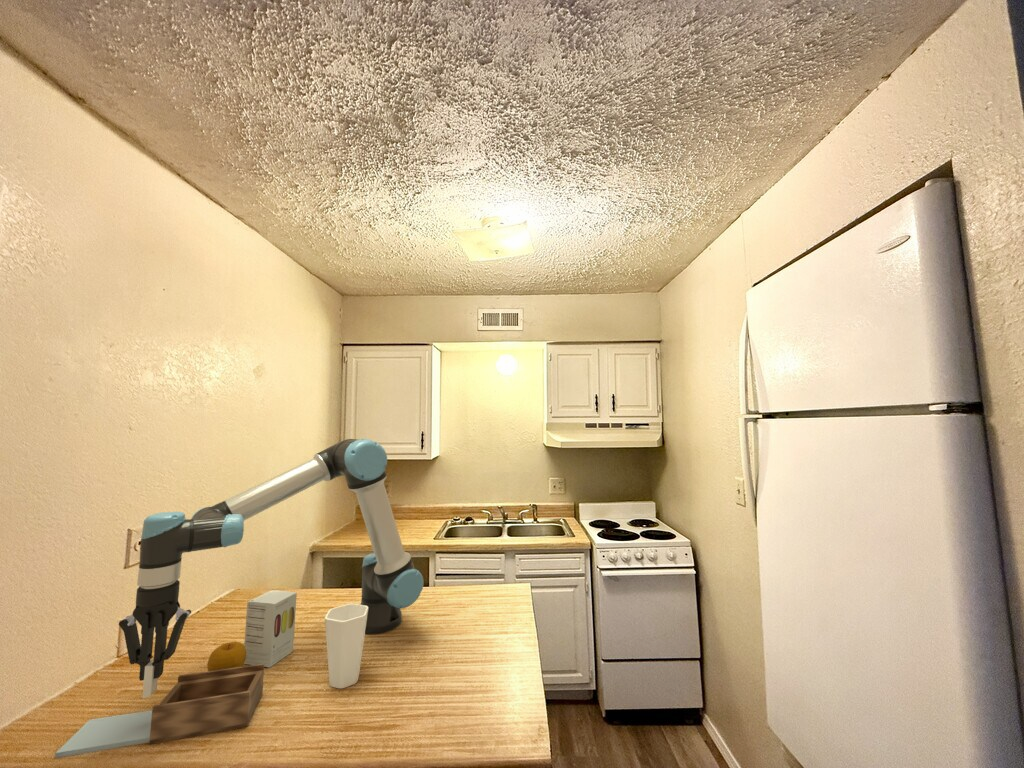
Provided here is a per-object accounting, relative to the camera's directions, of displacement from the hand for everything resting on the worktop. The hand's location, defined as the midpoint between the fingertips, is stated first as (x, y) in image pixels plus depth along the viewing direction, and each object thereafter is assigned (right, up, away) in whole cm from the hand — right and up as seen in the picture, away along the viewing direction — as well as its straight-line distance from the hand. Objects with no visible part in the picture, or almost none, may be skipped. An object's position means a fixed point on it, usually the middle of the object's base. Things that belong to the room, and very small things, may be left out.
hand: (149, 693), depth 93 cm
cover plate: (-5, -7, -2) cm, 9 cm away
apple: (+5, -9, +17) cm, 20 cm away
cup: (+37, -9, +17) cm, 41 cm away
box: (+12, -7, +3) cm, 14 cm away
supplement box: (+10, -10, +28) cm, 31 cm away
